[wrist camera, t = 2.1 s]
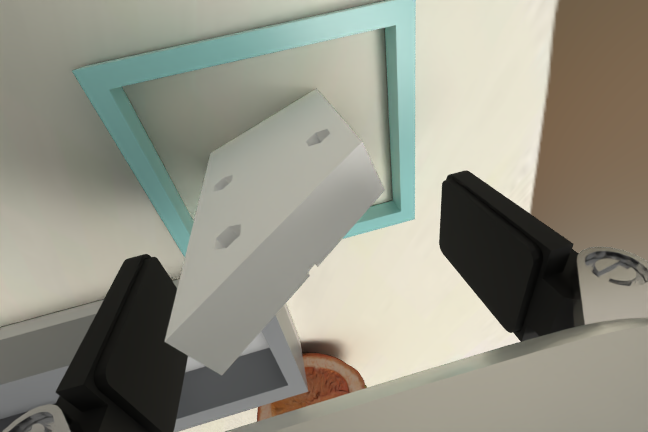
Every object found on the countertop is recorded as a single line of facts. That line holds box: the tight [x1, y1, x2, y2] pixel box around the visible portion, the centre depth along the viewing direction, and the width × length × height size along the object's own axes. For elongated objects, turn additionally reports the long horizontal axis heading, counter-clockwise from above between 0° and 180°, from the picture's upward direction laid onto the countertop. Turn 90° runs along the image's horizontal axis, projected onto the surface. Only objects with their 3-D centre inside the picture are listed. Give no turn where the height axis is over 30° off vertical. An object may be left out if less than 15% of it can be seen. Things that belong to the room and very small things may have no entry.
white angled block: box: [165, 89, 385, 375], centre depth 12 cm, size 4×10×9 cm
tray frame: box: [72, 0, 416, 257], centre depth 15 cm, size 11×13×1 cm
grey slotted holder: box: [0, 279, 308, 432], centre depth 18 cm, size 9×19×6 cm, turn 100°
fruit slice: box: [257, 353, 367, 422], centre depth 24 cm, size 8×7×5 cm
